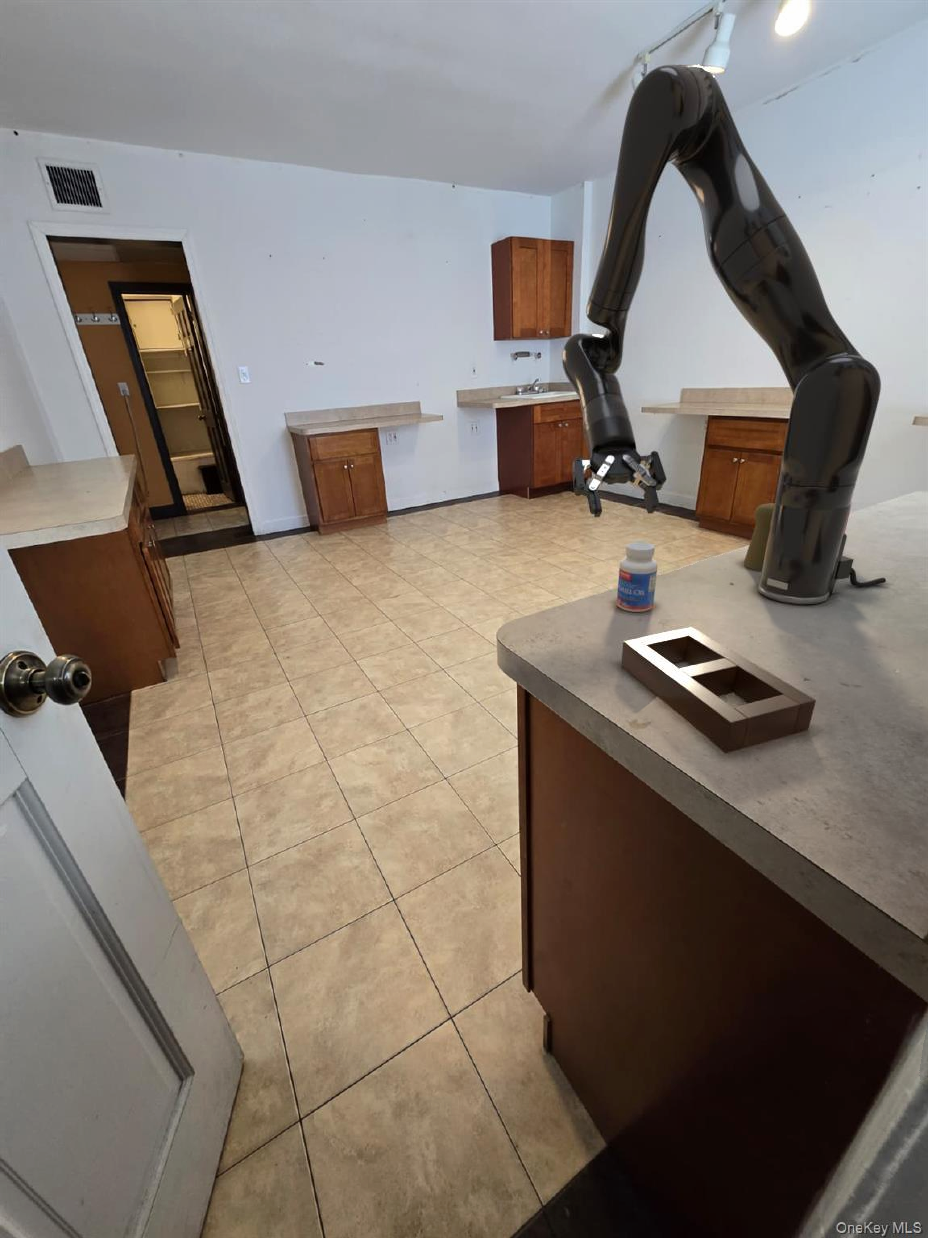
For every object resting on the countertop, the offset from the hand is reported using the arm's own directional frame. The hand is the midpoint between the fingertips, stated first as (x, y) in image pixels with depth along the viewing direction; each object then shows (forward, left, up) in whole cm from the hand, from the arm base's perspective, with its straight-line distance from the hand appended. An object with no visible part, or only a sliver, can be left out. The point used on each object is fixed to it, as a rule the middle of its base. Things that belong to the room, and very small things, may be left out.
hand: (625, 512), depth 81 cm
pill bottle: (+2, +7, -13) cm, 15 cm away
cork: (-28, +1, -13) cm, 31 cm away
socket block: (+9, +31, -13) cm, 34 cm away
